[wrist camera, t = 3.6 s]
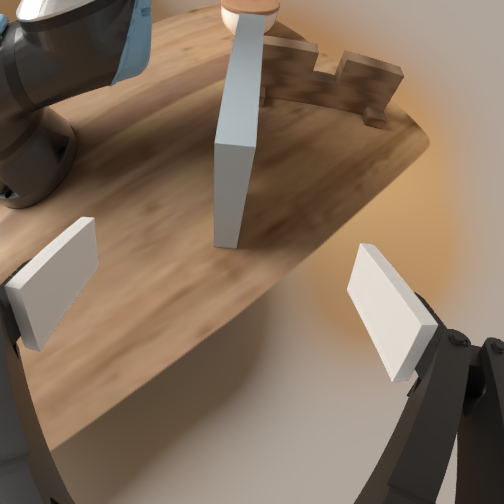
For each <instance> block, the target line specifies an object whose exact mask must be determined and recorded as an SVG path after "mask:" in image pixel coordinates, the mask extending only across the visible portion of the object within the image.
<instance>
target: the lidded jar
mask: <svg viewBox="0 0 504 504" xmlns="http://www.w3.org/2000/svg"><path fill="white" fill-rule="evenodd" d="M279 7H280V2H279V1H278V0H221V15H222V20H223V22H224V24H225V26H226V27H227V28H228V29H229V30H230V31H231V32H232V34H233V35H235V32H236V28H237V23H238V19H239V14H240V13H246V14H256V15H264V16H265V24H264V33H266V32H267V31H268V30H269V29H270V28H271V27H272V26H273V24H274V22H275V20H276V17H277V14H278V10H279Z"/></svg>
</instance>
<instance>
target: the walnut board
mask: <svg viewBox="0 0 504 504" xmlns="http://www.w3.org/2000/svg"><path fill="white" fill-rule="evenodd" d="M318 54H319V51H318V46H317V44H313V43H308V42H303V41H298V40H292V39H286V38H279V37H272V36H265V35H264V38H263V52H262V66H261V81H260V95H259V106H262V107H263V105H264V100H265V97H270V98H278V99H285V100H291V101H297V102H303V103H309V104H315V105H320V106H325V107H330V108H335V109H340V110H345V111H349V112H353V113H358V114H362V116H363V120H364V125H368V126H372V127H376V128H380V129H381V128H382V127H383V125H384V123H385V122H386V119H385V115H384V109H385V107H386V106H387V104H388V102H389V101H390V99H391V97H392V96H393V94H394V93H395V91H396V89H397V88H398V86H399V84H400V83H401V81H402V79H403V78H404V75H403V73H402V71H401V68H400V67H398V66H395V65H392V64H389V63H386V62H383V61H380V60H377V59H373V58H370V57H366V56H363V55H360V54H356V53H352V52H348V51H344V53H343V56H342V58H341V61H340V63H339V66H338V68H337V71H336V73H335V75H333V74H328V73H323V72H318V71H313V69H314V66H315V63H316V60H317V57H318Z"/></svg>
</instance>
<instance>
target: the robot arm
mask: <svg viewBox="0 0 504 504" xmlns="http://www.w3.org/2000/svg"><path fill="white" fill-rule="evenodd" d="M150 13H151V0H22V1H21V3H20V5H19V7H18V9H17V11H16V14H17V18H18V20H16V21H14V22H12V23H8V22H9V19H8V17H6V16H5V15H3V14H0V202H1V203H2V204H4V205H5V206H7V207H10V208H24V207H28V206H30V205H33V204H35V203H37V202H39V201H40V200H42V199H43V198H45V197H46V196H47V195H49V194H50V193H51V192H52V191H53V190H54V189H55V188H56V187H57V186H58V185H59V184H60V183H61V181H62V180H63V179H64V177H65V176H66V174H67V173H68V171H69V169H70V168H71V165H72V163H73V161H74V158H75V154H76V148H77V143H76V137H75V135H74V133H73V131H72V129H71V127H70V125H69V123H68V122H67V121H66V120H65V119H64V118H63V117H61V116H60V115H59V114H58V113H56V112H55V111H54V110H52V109H51V108H50V107H49V105H52V104H55V103H57V102H60V101H63V100H65V99H68V98H71V97H74V96H77V95H80V94H83V93H86V92H89V91H92V90H95V89H98V88H101V87H105V86H112V85H114V84H116V82H119V81H122V80H125V79H129V78H132V77H135V76H138V75H139V74H141V73H142V72H143V71H144V70H145V69H146V67H147V65H148V62H149V58H150V50H151V27H152V22H151V14H150ZM98 268H99V262H98V253H97V242H96V230H95V218H90V217H81V218H80V219H78V220H77V221H76V222H75V223H73V224H72V225H71V226H70V227H69V228H67V229H66V230H65V231H64V232H63V233H61V234H60V235H59V236H58V237H57V238H56V239H54V240H53V241H52V242H51V243H50V244H49V245H47V246H46V247H45V248H44V249H43V250H42V251H41V252H40V253H38V254H37V255H36V256H35V257H34V258H32V259H30V260H28V261H27V262H25V263H23V264H22V265H21V266H20V267H19V268H18V269H17V271H14V272H13V273H12V274H11V276H9V277H8V278H7V279H6V280H5V281H4V282H3V283H2V284H1V285H0V504H75V503H74V501H73V500H72V498H71V496H70V495H69V493H68V491H67V489H66V487H65V485H64V483H63V481H62V479H61V476H60V474H59V472H58V470H57V467H56V465H55V463H54V461H53V458H52V456H51V453H50V451H49V448H48V446H47V443H46V441H45V438H44V435H43V433H42V430H41V427H40V424H39V421H38V418H37V415H36V412H35V409H34V406H33V403H32V399H31V396H30V392H29V389H28V385H27V381H26V377H25V373H24V369H23V365H22V361H21V356H20V352H19V348H18V345H17V343H16V341H17V340H18V339H19V337H20V336H21V338H22V340H23V343H24V345H25V347H26V348H29V349H32V350H36V351H41V350H42V348H43V347H44V345H45V344H46V342H47V340H48V339H49V337H50V336H51V334H52V333H53V331H54V330H55V328H56V327H57V325H58V324H59V322H60V321H61V319H62V318H63V316H64V315H65V314H66V312H67V311H68V309H69V308H70V306H71V305H72V304H73V302H74V301H75V299H76V298H77V297H78V295H79V294H80V292H81V291H82V290H83V288H84V287H85V286H86V284H87V283H88V281H89V280H90V279H91V277H92V276H93V275H94V273H95V272H96V271H97V270H98ZM347 291H348V293H349V295H350V297H351V299H352V301H353V303H354V305H355V307H356V309H357V311H358V312H359V315H360V317H361V319H362V320H363V322H364V325H365V327H366V328H367V330H368V333H369V335H370V337H371V338H372V341H373V343H374V345H375V346H376V349H377V351H378V353H379V355H380V357H381V359H382V362H383V363H384V366H385V368H386V370H387V372H388V374H389V377H390V379H391V381H392V382H399V381H408V380H409V378H410V377H411V375H412V373H413V371H414V370H416V372H417V374H418V378H417V380H416V381H415V383H414V385H413V386H412V388H411V389H410V391H409V393H408V394H407V396H408V397H409V398H408V401H407V403H406V405H405V408H404V410H403V412H402V414H401V417H400V419H399V421H398V423H397V425H396V428H395V430H394V432H393V434H392V436H391V438H390V440H389V442H388V444H387V446H386V448H385V450H384V452H383V454H382V456H381V458H380V460H379V461H378V463H377V465H376V467H375V469H374V471H373V472H372V474H371V476H370V478H369V480H368V481H367V483H366V484H365V486H364V488H363V489H362V491H361V493H360V494H359V496H358V498H357V499H356V501H355V502H354V504H436V503H435V502H436V498H437V496H438V493H439V490H440V488H441V485H442V482H443V479H444V476H445V473H446V470H447V466H448V463H449V460H450V456H451V452H452V449H453V446H454V441H455V438H456V434H457V442H458V443H457V444H458V452H457V482H456V497H455V504H504V342H503V341H501V340H500V339H496V338H491V337H490V338H487V339H486V340H485V342H484V344H483V346H482V347H479V346H474V345H471V342H470V340H469V339H468V338H467V337H466V336H465V335H464V334H463V333H461V332H459V331H457V330H454V329H447V328H446V326H445V325H444V324H443V322H442V321H441V320H440V319H439V317H438V316H437V315H436V313H434V311H433V309H432V308H431V307H430V306H429V304H428V303H427V302H426V301H425V299H424V298H422V297H421V296H420V295H418V294H417V293H415V292H413V291H412V290H411V288H410V287H409V286H408V285H407V283H406V282H405V281H404V280H403V279H402V278H401V276H400V275H399V274H398V272H397V271H396V270H395V269H394V268H393V266H392V265H391V264H390V263H389V262H388V260H387V259H386V258H385V257H384V256H383V255H382V253H381V252H380V251H379V250H378V249H377V248H376V246H375V245H374V244H368V243H360V245H359V249H358V253H357V256H356V260H355V264H354V268H353V271H352V274H351V278H350V281H349V284H348V288H347Z"/></svg>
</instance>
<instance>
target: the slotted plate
mask: <svg viewBox="0 0 504 504" xmlns="http://www.w3.org/2000/svg"><path fill="white" fill-rule="evenodd" d="M264 24H265V16H264V15H256V14H246V13H240V14H239V19H238V23H237V28H236V32H235V37H234V42H233V46H232V51H231V56H230V61H229V66H228V71H227V76H226V81H225V86H224V92H223V97H222V103H221V108H220V114H219V119H218V125H217V131H216V137H215V143H214V247H224V248H235V249H236V248H237V243H238V238H239V232H240V227H241V222H242V216H243V211H244V206H245V201H246V195H247V190H248V185H249V180H250V175H251V169H252V164H253V159H254V154H255V149H256V138H257V124H258V109H259V95H260V81H261V66H262V52H263V38H264Z"/></svg>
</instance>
